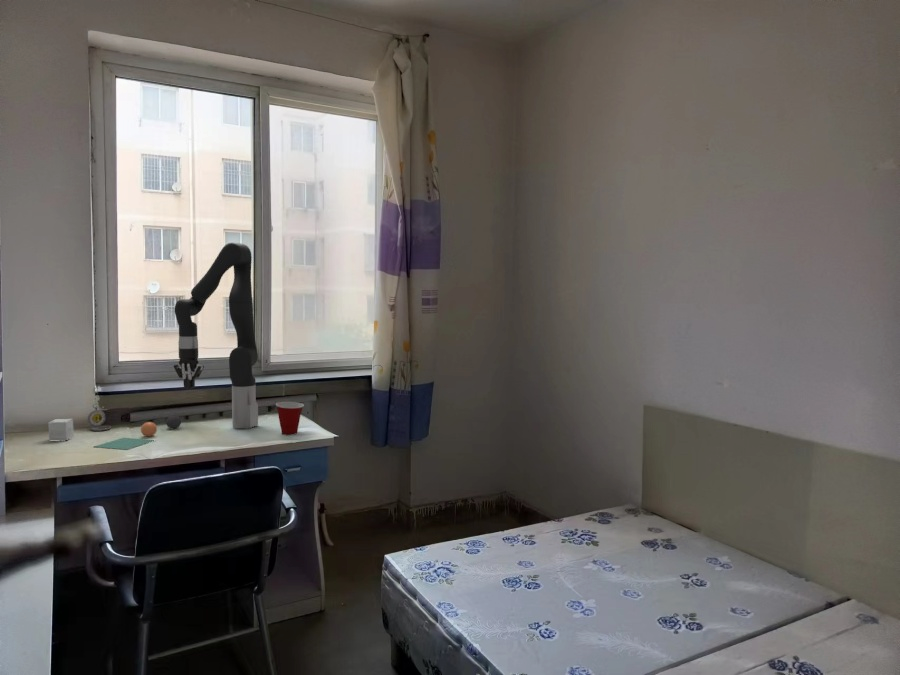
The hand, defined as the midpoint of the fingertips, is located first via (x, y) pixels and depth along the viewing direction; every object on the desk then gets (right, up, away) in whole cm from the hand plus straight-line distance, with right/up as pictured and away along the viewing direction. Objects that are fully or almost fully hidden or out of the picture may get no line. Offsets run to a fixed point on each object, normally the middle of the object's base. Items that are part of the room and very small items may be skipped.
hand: (189, 388), depth 252 cm
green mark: (-8, -17, -34) cm, 39 cm away
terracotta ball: (-6, -14, -22) cm, 27 cm away
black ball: (-2, -13, -9) cm, 16 cm away
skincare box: (-35, -17, -29) cm, 48 cm away
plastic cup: (+46, -17, -15) cm, 52 cm away
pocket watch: (-31, -16, -11) cm, 36 cm away
